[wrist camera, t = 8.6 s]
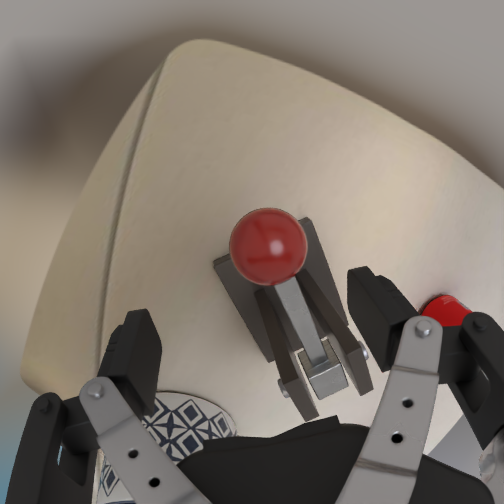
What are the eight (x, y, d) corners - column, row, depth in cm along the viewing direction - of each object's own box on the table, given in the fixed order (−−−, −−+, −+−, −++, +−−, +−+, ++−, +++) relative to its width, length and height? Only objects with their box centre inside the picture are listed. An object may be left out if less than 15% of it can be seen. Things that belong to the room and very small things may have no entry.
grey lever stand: (212, 261, 27) (220, 355, 16) (307, 216, 27) (379, 279, 15) (266, 356, 32) (295, 455, 20) (344, 319, 32) (403, 403, 20)
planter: (100, 436, 34) (83, 523, 21) (137, 368, 30) (116, 483, 17) (201, 470, 39) (208, 551, 25) (260, 414, 35) (284, 514, 22)
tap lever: (213, 217, 15) (219, 249, 12) (279, 186, 15) (303, 209, 12) (296, 374, 22) (312, 411, 18) (342, 352, 22) (362, 387, 18)
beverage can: (436, 283, 32) (504, 337, 21) (459, 302, 34) (519, 352, 23) (405, 327, 34) (463, 391, 23) (431, 341, 35) (484, 398, 24)
